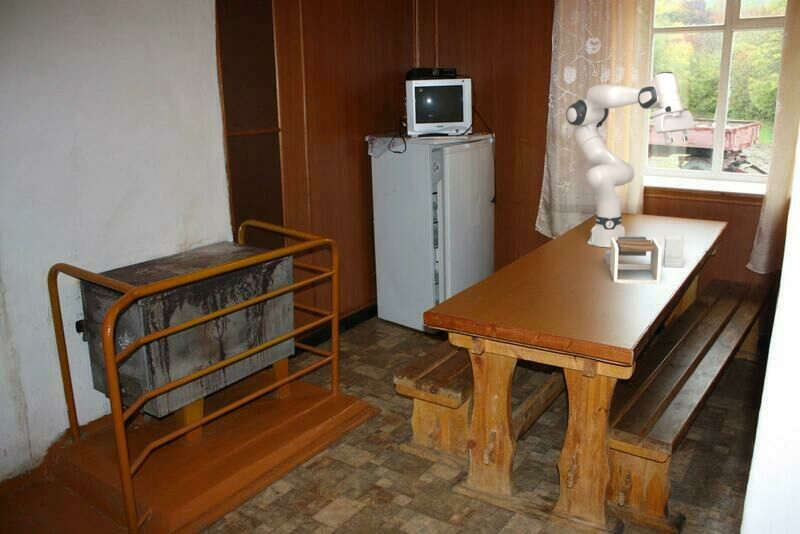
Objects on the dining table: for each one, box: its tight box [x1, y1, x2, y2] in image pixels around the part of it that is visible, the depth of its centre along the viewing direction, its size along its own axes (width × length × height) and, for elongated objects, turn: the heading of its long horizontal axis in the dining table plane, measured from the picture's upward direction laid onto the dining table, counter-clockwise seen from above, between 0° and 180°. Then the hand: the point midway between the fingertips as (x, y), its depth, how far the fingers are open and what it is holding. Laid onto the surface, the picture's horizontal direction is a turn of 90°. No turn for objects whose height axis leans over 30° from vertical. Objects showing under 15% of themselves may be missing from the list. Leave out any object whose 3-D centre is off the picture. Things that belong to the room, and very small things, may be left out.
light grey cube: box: [605, 249, 620, 265], centre depth 308 cm, size 5×5×5 cm
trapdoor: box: [616, 236, 655, 257], centre depth 288 cm, size 20×14×7 cm
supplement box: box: [663, 234, 685, 268], centre depth 299 cm, size 7×7×13 cm
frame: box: [609, 237, 663, 285], centre depth 286 cm, size 20×18×14 cm
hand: (678, 141), depth 292 cm, fingers open, 8 cm apart
